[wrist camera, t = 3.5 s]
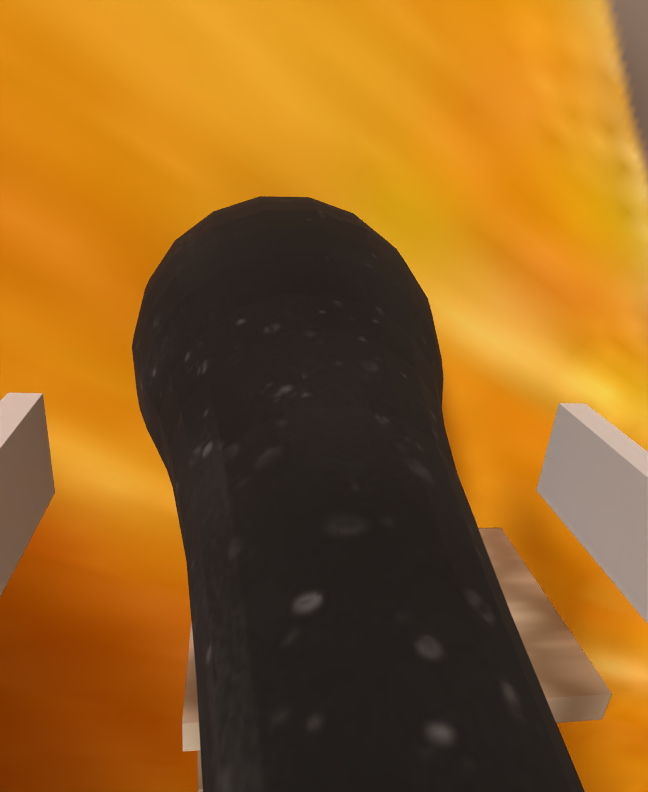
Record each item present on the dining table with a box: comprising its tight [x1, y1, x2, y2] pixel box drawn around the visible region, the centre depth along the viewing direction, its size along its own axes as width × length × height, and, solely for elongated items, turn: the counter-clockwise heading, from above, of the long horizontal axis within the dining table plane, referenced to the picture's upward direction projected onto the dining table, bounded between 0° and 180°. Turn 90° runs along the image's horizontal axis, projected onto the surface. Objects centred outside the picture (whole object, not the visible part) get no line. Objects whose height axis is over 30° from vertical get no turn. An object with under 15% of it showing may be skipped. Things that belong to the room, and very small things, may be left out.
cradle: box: [182, 528, 612, 792], centre depth 31 cm, size 17×17×11 cm
